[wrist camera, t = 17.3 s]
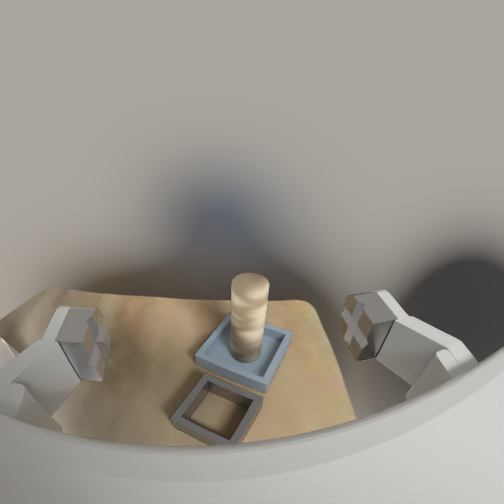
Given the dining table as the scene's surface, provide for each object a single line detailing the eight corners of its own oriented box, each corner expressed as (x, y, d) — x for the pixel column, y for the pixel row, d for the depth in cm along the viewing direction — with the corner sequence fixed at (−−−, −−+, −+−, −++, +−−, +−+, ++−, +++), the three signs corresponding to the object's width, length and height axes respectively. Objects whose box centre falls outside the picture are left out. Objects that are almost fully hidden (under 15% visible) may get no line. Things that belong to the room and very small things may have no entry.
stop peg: (225, 356, 42) (224, 287, 35) (238, 337, 46) (241, 269, 39) (253, 367, 40) (260, 299, 34) (265, 346, 44) (274, 279, 38)
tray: (195, 364, 41) (194, 354, 40) (230, 321, 50) (230, 311, 49) (265, 393, 37) (266, 384, 36) (291, 342, 46) (293, 332, 45)
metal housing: (174, 427, 30) (170, 418, 29) (206, 384, 38) (205, 373, 36) (233, 456, 27) (233, 449, 26) (261, 407, 35) (263, 397, 33)
